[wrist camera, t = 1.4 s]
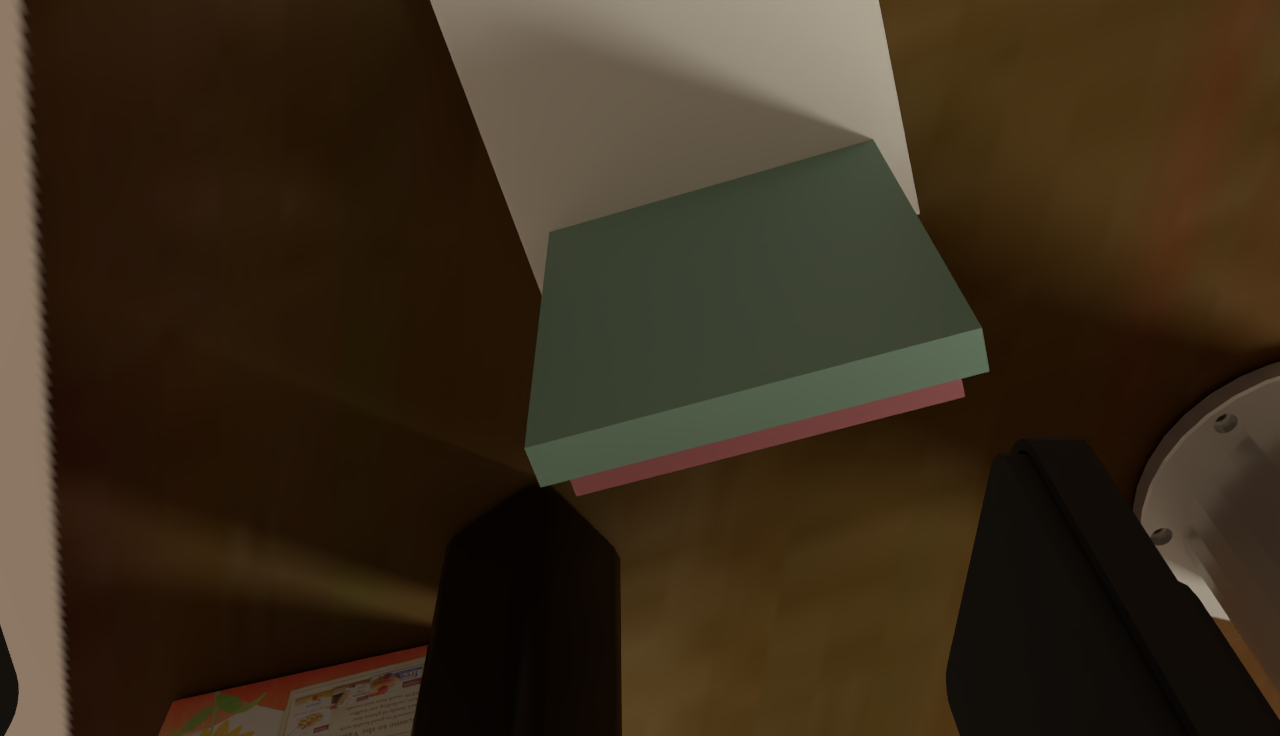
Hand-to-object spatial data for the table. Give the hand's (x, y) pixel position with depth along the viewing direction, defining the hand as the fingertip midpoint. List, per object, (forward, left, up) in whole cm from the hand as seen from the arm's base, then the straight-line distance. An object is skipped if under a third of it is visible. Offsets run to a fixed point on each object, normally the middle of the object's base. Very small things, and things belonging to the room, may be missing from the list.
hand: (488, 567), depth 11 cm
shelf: (-2, +4, -30) cm, 31 cm away
